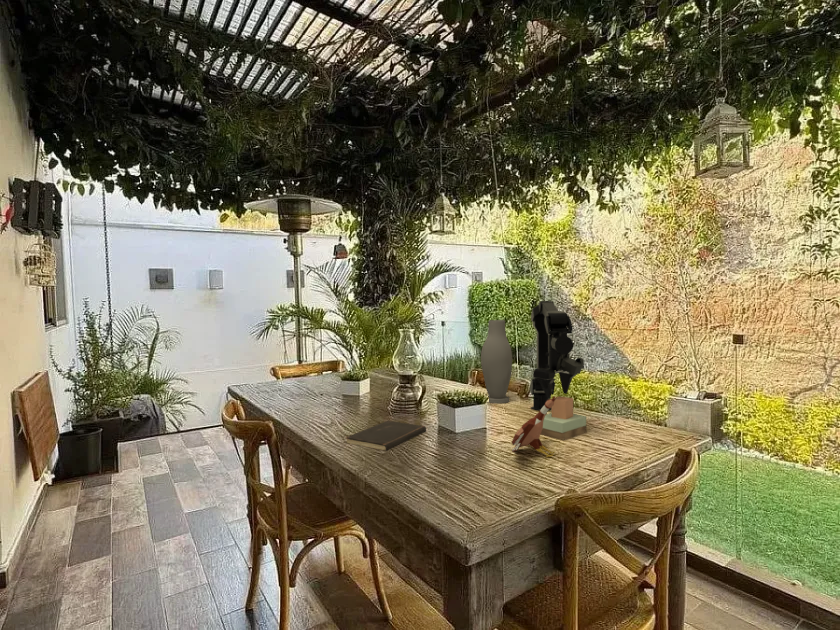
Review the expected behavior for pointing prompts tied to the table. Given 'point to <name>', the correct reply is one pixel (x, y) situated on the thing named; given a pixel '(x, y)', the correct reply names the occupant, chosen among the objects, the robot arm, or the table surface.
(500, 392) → the vase
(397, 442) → the hardcover book
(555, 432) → the walnut slab
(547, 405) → the decorative bird
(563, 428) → the sage slab
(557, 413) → the terracotta block
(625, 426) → the table surface
